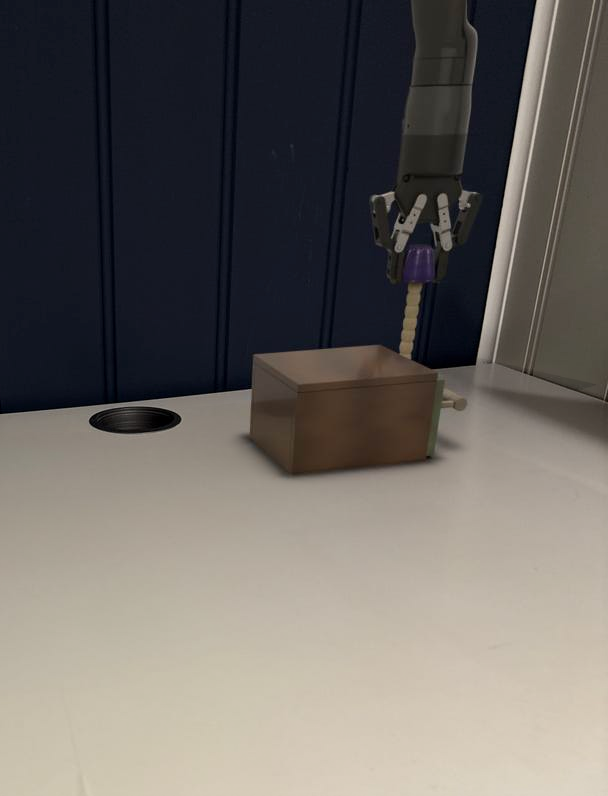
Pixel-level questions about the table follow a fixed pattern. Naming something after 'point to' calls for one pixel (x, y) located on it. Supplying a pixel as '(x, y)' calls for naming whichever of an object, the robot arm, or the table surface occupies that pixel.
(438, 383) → the drawer
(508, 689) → the table surface
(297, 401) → the cabinet
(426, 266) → the toy lamp
